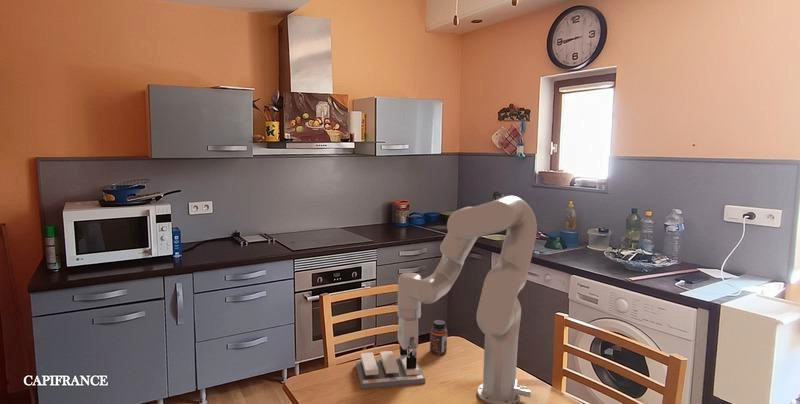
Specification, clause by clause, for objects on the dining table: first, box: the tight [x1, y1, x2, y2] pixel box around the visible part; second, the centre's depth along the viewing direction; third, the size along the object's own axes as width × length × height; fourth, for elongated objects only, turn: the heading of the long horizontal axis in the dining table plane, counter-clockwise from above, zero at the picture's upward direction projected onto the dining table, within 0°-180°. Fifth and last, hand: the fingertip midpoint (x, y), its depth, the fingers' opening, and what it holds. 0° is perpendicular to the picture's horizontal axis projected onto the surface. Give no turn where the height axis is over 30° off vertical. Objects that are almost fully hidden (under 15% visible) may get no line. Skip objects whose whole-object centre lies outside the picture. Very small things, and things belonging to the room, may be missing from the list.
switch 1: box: [360, 352, 378, 375], centre depth 158 cm, size 4×12×2 cm, turn 12°
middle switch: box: [379, 350, 399, 374], centre depth 160 cm, size 4×12×2 cm, turn 12°
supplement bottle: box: [429, 319, 448, 356], centre depth 175 cm, size 6×6×11 cm
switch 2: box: [398, 353, 419, 375], centre depth 161 cm, size 4×12×2 cm, turn 12°
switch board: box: [355, 357, 426, 390], centre depth 159 cm, size 20×15×2 cm
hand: (407, 361), depth 161 cm, fingers open, 9 cm apart
